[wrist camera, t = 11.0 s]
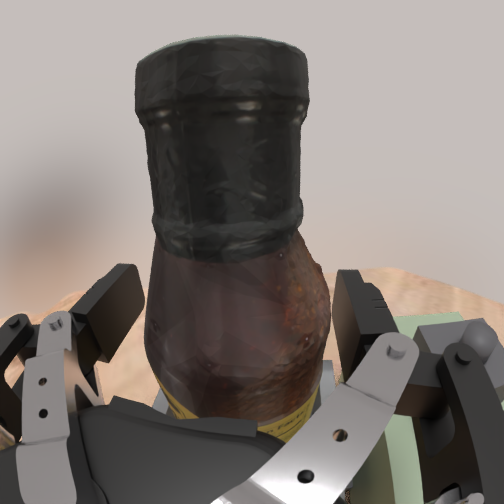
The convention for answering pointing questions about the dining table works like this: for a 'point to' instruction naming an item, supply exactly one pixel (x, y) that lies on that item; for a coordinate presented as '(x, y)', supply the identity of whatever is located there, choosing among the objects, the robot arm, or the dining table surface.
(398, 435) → the knobbed green block
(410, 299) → the dining table surface
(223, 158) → the sauce bottle
